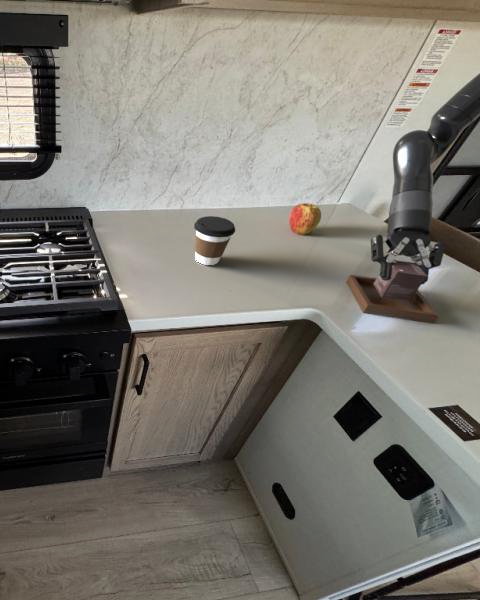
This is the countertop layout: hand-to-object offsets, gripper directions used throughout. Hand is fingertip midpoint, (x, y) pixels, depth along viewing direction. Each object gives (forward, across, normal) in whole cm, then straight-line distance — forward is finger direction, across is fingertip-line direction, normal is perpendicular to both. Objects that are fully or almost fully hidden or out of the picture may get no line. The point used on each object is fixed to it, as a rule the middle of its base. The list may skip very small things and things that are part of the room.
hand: (403, 281), depth 81 cm
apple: (-22, -13, +32) cm, 41 cm away
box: (+2, 0, +4) cm, 5 cm away
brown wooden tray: (+4, 0, +6) cm, 7 cm away
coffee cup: (-2, -43, +12) cm, 44 cm away
